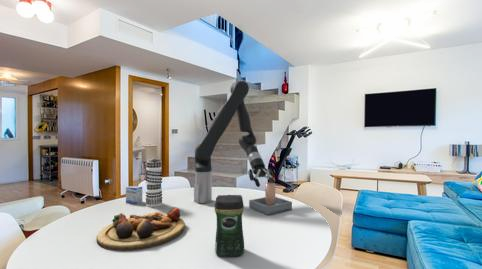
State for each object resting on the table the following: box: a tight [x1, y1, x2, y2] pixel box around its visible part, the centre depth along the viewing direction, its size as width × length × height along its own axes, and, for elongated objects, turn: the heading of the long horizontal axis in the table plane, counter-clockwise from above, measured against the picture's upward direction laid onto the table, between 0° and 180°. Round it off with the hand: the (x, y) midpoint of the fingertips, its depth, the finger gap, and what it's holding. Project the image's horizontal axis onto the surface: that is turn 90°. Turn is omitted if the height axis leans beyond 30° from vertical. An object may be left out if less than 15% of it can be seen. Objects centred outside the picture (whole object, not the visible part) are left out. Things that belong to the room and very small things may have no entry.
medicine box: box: [125, 185, 143, 205], centre depth 138 cm, size 8×4×9 cm, turn 73°
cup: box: [264, 182, 277, 206], centre depth 126 cm, size 5×5×12 cm
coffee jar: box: [214, 194, 245, 258], centre depth 80 cm, size 10×8×19 cm
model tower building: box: [144, 157, 164, 208], centre depth 134 cm, size 9×9×25 cm
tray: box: [248, 196, 293, 216], centre depth 126 cm, size 16×15×4 cm
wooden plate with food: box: [96, 207, 186, 251], centre depth 97 cm, size 32×32×8 cm
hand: (266, 185), depth 129 cm, fingers open, 8 cm apart
